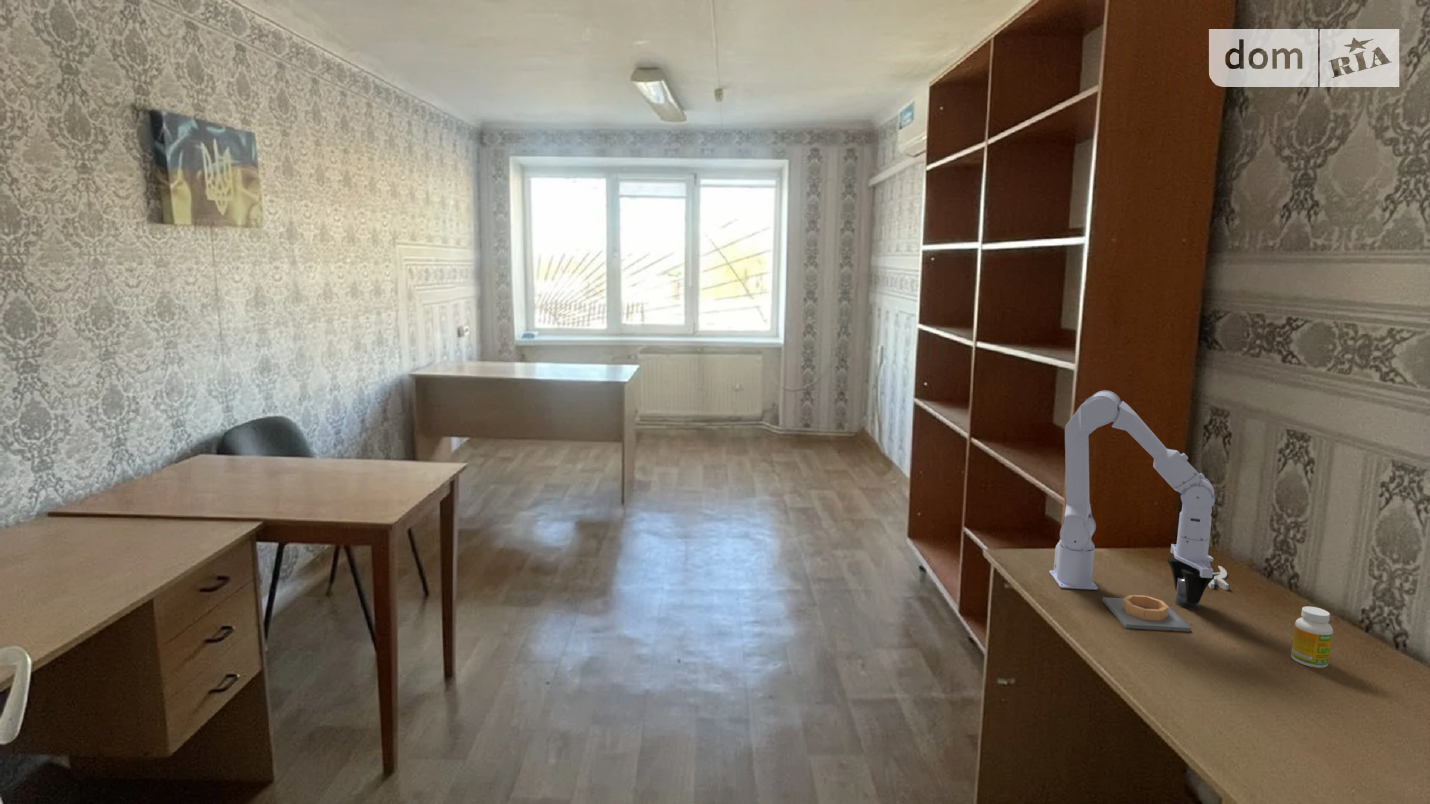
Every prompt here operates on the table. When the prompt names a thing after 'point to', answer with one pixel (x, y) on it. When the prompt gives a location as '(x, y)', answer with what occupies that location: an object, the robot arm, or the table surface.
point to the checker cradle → (1145, 613)
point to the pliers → (1219, 579)
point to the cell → (1183, 594)
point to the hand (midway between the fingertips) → (1187, 597)
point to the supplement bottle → (1312, 638)
